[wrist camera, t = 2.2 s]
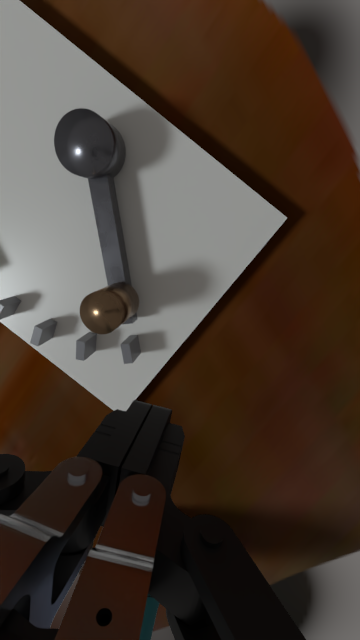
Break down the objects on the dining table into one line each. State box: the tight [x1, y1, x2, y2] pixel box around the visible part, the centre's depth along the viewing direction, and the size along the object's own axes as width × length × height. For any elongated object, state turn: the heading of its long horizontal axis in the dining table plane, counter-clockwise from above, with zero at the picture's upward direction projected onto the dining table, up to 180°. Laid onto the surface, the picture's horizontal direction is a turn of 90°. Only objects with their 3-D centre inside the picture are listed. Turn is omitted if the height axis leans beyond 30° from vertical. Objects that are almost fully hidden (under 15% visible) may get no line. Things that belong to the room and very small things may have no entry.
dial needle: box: [54, 108, 139, 334], centre depth 25 cm, size 16×4×6 cm, turn 8°
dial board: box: [0, 0, 287, 411], centre depth 29 cm, size 24×30×4 cm
